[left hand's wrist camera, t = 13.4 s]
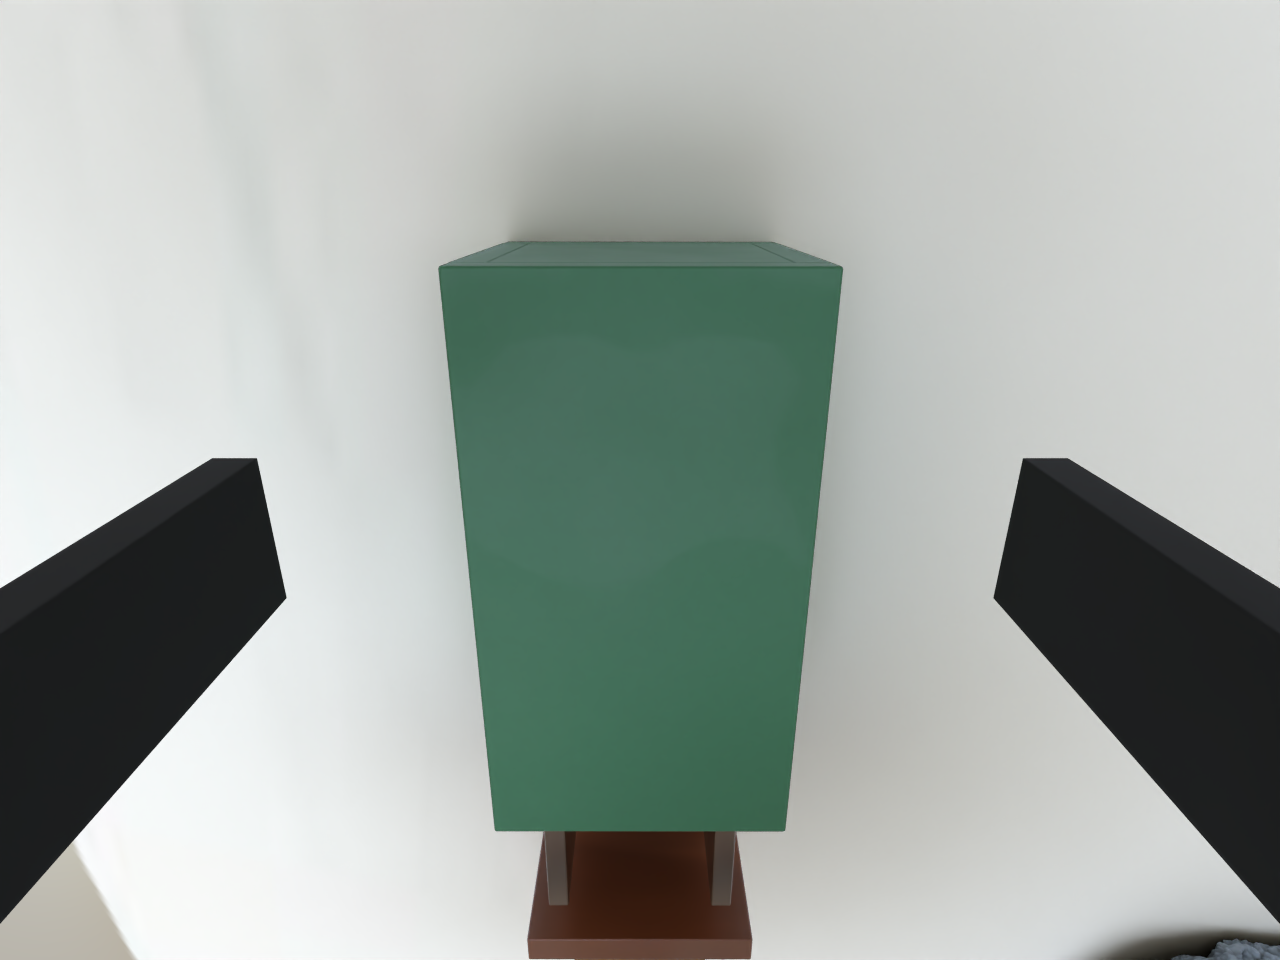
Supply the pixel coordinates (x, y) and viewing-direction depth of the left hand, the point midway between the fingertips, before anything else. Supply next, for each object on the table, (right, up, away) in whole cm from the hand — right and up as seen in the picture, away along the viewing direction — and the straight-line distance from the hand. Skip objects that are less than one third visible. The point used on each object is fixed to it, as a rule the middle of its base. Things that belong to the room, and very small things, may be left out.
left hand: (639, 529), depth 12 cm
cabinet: (0, +1, +19) cm, 19 cm away
